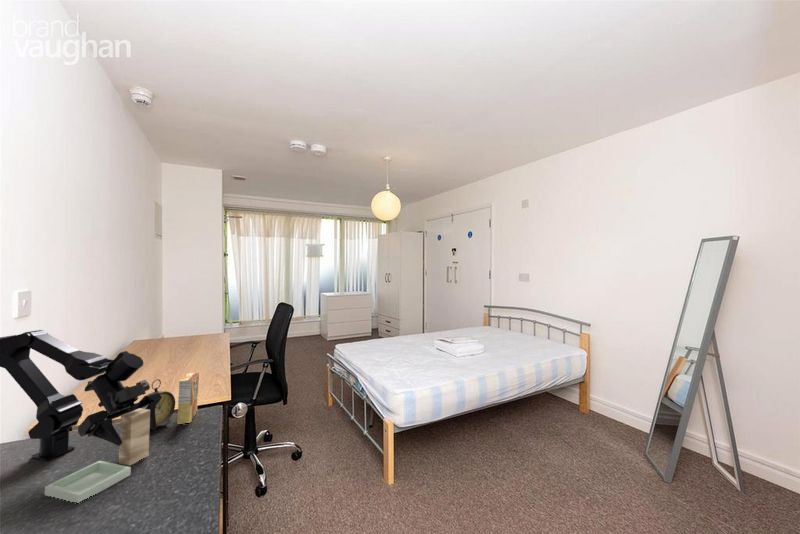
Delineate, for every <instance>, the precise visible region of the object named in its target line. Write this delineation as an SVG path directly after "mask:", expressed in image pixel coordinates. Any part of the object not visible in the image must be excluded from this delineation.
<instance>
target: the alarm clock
mask: <svg viewBox="0 0 800 534" xmlns="http://www.w3.org/2000/svg"><path fill="white" fill-rule="evenodd" d="M157 381H158V382H159V385H158V387H155V388H154V384H155V382H157ZM161 384H162V382H161V379H158V378H157V379H155V380H153V382H152V383H151V389H152V390H153V391H151V393H148V394H147V395H149V394H152V393H154V392H159V393H160V394H161V396H162V399H161V400H160V401H159V403H158V404H157V405H156V408H155V418H156V426H157V427H161V426H162V425H164V424H166V422H168V421H170V422H171V420H170V419H171V417H172V416H173V414H174V411H175V408H176V398H175V396H174V394H173V393H172V392H171V391H166V390H165V391H158V389H159V388H160V387H161Z"/></svg>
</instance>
